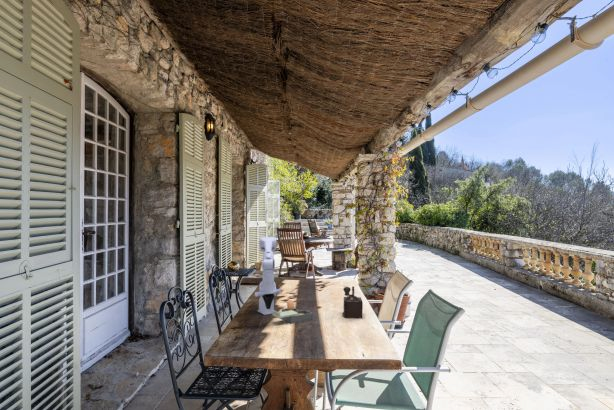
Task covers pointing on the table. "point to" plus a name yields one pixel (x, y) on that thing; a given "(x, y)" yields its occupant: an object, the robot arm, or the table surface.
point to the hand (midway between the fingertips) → (268, 308)
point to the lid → (284, 313)
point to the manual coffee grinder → (352, 304)
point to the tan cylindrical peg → (290, 305)
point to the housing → (298, 316)
